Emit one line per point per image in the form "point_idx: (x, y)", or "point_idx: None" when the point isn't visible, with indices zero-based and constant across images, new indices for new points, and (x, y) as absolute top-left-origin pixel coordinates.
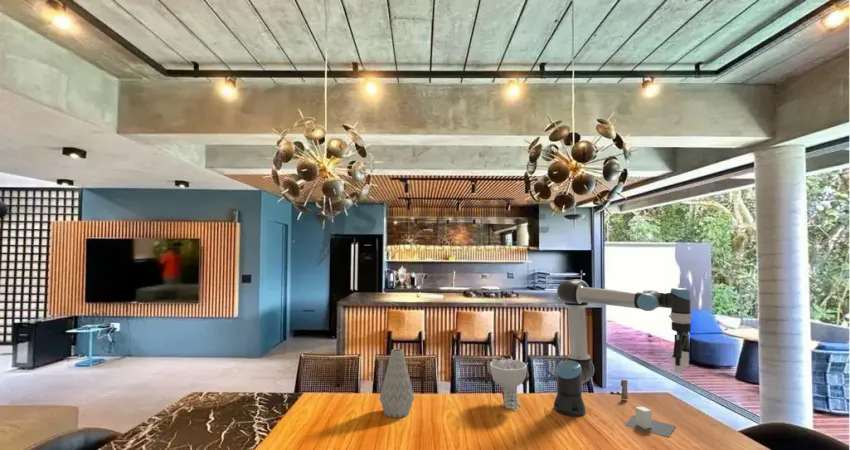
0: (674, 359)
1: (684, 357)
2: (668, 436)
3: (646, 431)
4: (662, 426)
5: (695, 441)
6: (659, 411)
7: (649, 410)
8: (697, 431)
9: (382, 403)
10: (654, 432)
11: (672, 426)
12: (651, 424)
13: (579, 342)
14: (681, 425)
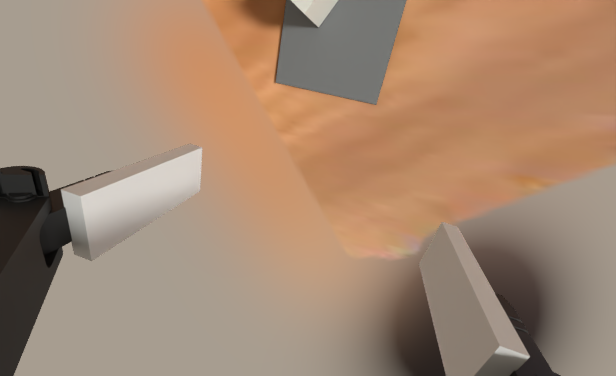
0: (91, 179)
1: (453, 302)
2: (280, 81)
3: (285, 12)
4: (351, 63)
5: (292, 148)
6: (524, 49)
7: (298, 6)
8: (365, 161)
9: None
10: (287, 39)
11: (365, 95)
12: (316, 25)
13: None
14: (395, 122)
